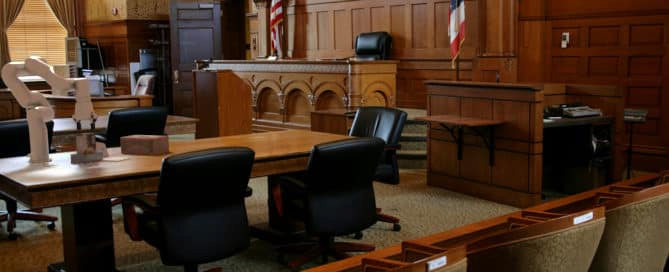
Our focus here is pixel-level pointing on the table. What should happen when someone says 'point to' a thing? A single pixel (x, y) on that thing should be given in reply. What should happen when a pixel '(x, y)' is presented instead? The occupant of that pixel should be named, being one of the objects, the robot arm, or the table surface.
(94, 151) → the coffee box
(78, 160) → the metal bracket
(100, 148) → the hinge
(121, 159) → the felt pad
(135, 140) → the tissue box cover
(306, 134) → the table surface
